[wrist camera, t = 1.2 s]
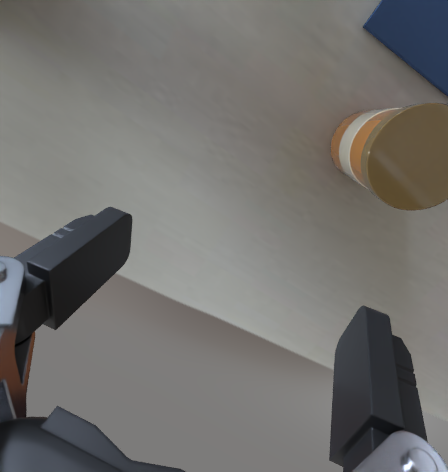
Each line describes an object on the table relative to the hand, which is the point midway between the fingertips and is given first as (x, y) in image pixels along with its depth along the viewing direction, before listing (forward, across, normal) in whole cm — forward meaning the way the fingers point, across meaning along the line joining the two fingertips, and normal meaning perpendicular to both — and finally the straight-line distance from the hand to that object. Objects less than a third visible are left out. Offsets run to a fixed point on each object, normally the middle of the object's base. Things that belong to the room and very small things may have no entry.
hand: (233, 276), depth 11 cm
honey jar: (+22, -5, 0) cm, 23 cm away
